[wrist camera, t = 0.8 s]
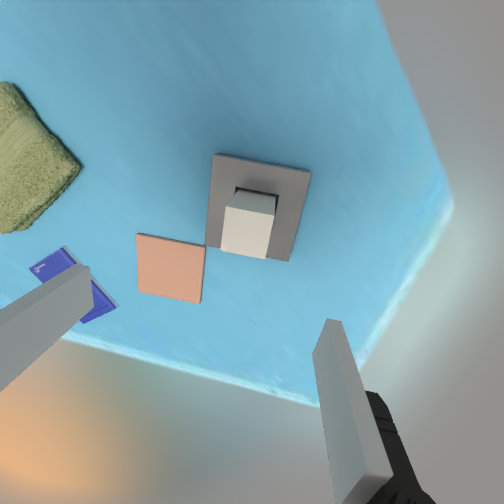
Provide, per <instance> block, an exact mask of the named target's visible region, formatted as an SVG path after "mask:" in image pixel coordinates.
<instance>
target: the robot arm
mask: <svg viewBox="0 0 504 504" xmlns="http://www.w3.org/2000/svg"><path fill="white" fill-rule="evenodd" d="M93 307H94V302H93V293H92V284H91V276H90V267H89V266H84V265H79V264H74V265H73V266H71V267H70V268H68V269H66V270H65V271H63V272H61V273H60V274H58V275H57V276H55V277H53V278H52V279H50V280H48V281H47V282H45V283H44V284H42V285H40V286H39V287H37V288H35V289H34V290H32V291H31V292H29V293H27V294H26V295H24V296H22V297H21V298H19V299H18V300H16V301H14V302H13V303H11V304H9V305H8V306H6V307H5V308H3V309H1V310H0V392H1V391H2V390H3V389H4V388H5V387H6V386H7V385H9V384H10V383H11V382H12V381H13V380H14V379H15V378H16V377H17V376H18V375H20V374H21V373H22V372H23V371H24V370H25V369H26V368H27V367H28V366H29V365H30V364H32V363H33V362H34V361H35V360H36V359H37V358H38V357H39V356H40V355H41V354H43V353H44V352H45V351H46V350H47V349H48V348H49V347H50V346H51V345H53V344H54V343H55V342H56V341H57V340H58V339H59V338H60V337H61V336H63V335H64V334H65V333H66V332H67V331H68V330H69V329H70V328H71V327H72V326H74V325H75V324H76V323H77V322H78V321H79V320H80V319H81V318H82V317H83V316H85V315H86V314H87V313H88V312H89V311H90V310H91V309H92V308H93ZM312 357H313V363H314V369H315V376H316V382H317V389H318V395H319V402H320V408H321V415H322V421H323V428H324V434H325V441H326V447H327V453H328V459H329V466H330V473H331V480H332V486H333V492H334V498H335V504H436V503H435V502H434V501H433V500H432V499H431V497H430V496H429V495H428V494H427V493H425V492H424V491H422V489H421V487H420V485H419V483H418V481H417V479H416V476H415V474H414V471H413V468H412V466H411V464H410V461H409V459H408V456H407V454H406V451H405V449H404V446H403V444H402V441H401V439H400V437H399V435H398V431H397V429H396V427H395V424H394V423H393V419H392V417H391V414H390V412H389V409H388V407H387V405H386V404H385V403H384V401H383V400H382V398H381V397H380V396H379V395H378V393H374V392H370V391H365V390H364V387H363V384H362V381H361V378H360V375H359V372H358V369H357V366H356V363H355V360H354V357H353V355H352V352H351V349H350V346H349V343H348V340H347V337H346V334H345V331H344V328H343V325H342V322H341V321H337V320H333V319H328V318H327V320H326V322H325V325H324V327H323V330H322V332H321V334H320V337H319V339H318V342H317V344H316V347H315V349H314V351H313V354H312Z"/></svg>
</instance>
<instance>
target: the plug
mask: <svg viewBox="0 0 504 504" xmlns="http://www.w3.org/2000/svg"><path fill="white" fill-rule="evenodd" d="M275 198H276V194H272V193H266V192H261V191H256V190H251V189H246V188H241V187H240V189H239V190H238V191H237V193H236V194H235V195H234V196H233V198H232V199H231V200H230V202H229V203H228V204H227V205H226V209H225V217H224V225H223V233H222V241H221V249H220V251H225V252H230V253H235V254H240V255H246V256H251V257H256V258H261V259H265V257H266V253H267V248H268V244H269V239H270V235H271V230H272V225H273V221H274V216H275Z"/></svg>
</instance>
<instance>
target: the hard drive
mask: <svg viewBox="0 0 504 504" xmlns="http://www.w3.org/2000/svg"><path fill="white" fill-rule="evenodd" d="M74 264H79V265H82V264H81V263H80V261H79V260H78V259H77V258H76V257H75V256H74V255H73V254H72V252H71V251H70V250H69V249H68V248H67V247H66V246H64V247H62V248H60V249H59V250H57V251H55V252H54V253H52V254H51V255H49V256H47V257H46V258H44V259H43V260H41V261H39V262H38V263H36V264H35V265H33V266H32V267H30V268H29V270H30V271H31V272H32V273H33V274H34V275H35V276H36V277H37V278H38V279H39V280H40V281H41V282H42V283H43V284H44V283H45V282H47V281H48V280H50V279H52V278H53V277H55V276H57V275H58V274H60V273H61V272H63V271H65V270H66V269H68V268H70V267H71V266H73V265H74ZM90 276H91V284H92V293H93V302H94V307H93V308H92V309H91V310H90V311H89V312H88V313H87V314H86V315H85V316H83V317H82V318H81V319H80V321H81V322H82V323H83V324H84V323H86V322H89V321H91V320H93V319H95V318H97V317H99V316H101V315H103V314H105V313H108V312H110V311H112V310H114V309H115V308H117V307H118V304H117V303H116V302H115V301H114V300H113V299H112V297H111V296H110V295H109V294H108V293H107V292H106V291H105V290H104V288H103V287H102V286H101V285H100V284H99V283H98V282H97V281H96V279H95V278H94V277H93V276H92V275H91V274H90Z"/></svg>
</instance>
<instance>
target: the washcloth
mask: <svg viewBox="0 0 504 504" xmlns="http://www.w3.org/2000/svg"><path fill="white" fill-rule="evenodd" d="M79 170H80V165H79V164H78V163H77V162H75V160H74V158H73V157H72V156H70V154H69V153H68V152H67V151H66V150H64V148H63V146H62V145H61V144H60V143H59V141H58V140H57V138H56V137H54V136H53V135H51V134H50V133H49V132H48V131H47V129H46V128H45V127H44V126H43V125H42V124H41V123H40V122H39V121H38V119H37V117H36V115H35V112H34V111H33V110H32V108H31V107H29V106H28V105H27V103H26V102H25V101H24V100H23V98H22V96H21V95H20V94H19V92H18V91H17V90H16V89H15V88H14V87H13V86H12V85H11V84H10V83H8V82H0V233H1V234H5V233H12V232H13V231H14V230H17V231H23V230H25V229H28V227H29V226H30V225H31V223H33V221H34V220H36V219H37V218H38V217H39V215H40V214H41V213H42V212H43V211H45V210H46V208H48V207H49V206H50V205H51V203H52V202H53V201H54V200H55V199H57V198H58V195H60V194H62V192H63V191H64V189H65V188H67V186H68V184H69V183H71V182H72V180H73V178H74V177H76V176H77V175H78V173H79Z"/></svg>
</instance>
